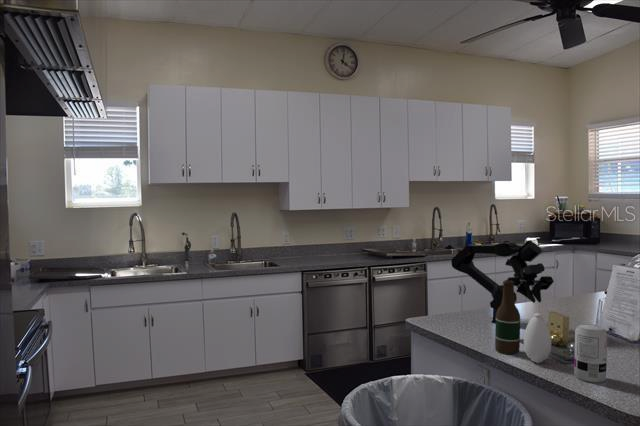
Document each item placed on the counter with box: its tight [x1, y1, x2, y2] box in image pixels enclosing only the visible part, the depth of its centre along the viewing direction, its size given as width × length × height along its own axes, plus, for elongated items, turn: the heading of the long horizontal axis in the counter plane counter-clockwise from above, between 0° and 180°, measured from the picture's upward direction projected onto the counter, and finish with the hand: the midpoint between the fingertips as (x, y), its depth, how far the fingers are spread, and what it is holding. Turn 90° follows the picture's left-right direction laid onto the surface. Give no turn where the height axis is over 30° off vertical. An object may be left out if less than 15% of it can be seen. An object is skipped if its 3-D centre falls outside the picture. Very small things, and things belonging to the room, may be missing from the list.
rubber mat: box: [520, 338, 574, 365], centre depth 173 cm, size 26×15×1 cm, turn 11°
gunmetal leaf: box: [551, 341, 575, 361], centre depth 165 cm, size 7×9×4 cm
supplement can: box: [573, 323, 608, 384], centre depth 147 cm, size 8×8×15 cm
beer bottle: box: [494, 279, 521, 355], centre depth 171 cm, size 8×8×24 cm
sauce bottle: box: [523, 305, 551, 364], centre depth 161 cm, size 8×8×18 cm
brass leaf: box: [547, 311, 570, 346], centre depth 180 cm, size 8×6×10 cm
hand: (537, 301), depth 192 cm, fingers open, 2 cm apart
